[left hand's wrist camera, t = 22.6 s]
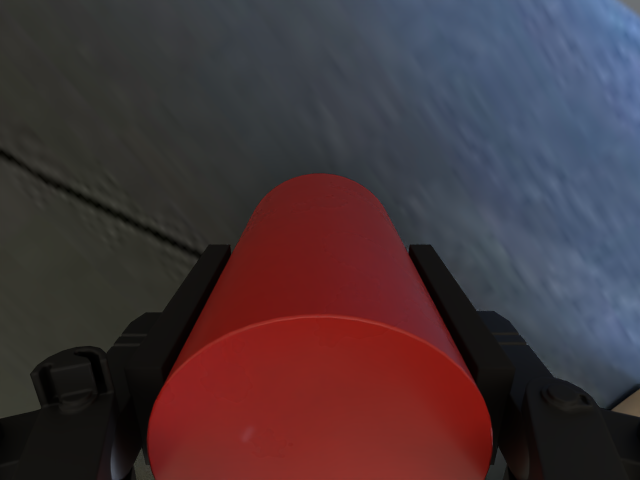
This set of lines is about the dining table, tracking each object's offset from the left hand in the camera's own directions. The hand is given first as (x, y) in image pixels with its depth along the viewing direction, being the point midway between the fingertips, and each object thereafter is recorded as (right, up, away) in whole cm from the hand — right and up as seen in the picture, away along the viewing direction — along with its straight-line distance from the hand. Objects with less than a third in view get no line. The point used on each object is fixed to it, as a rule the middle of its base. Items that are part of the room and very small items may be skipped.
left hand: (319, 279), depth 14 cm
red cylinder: (0, +1, +3) cm, 3 cm away
